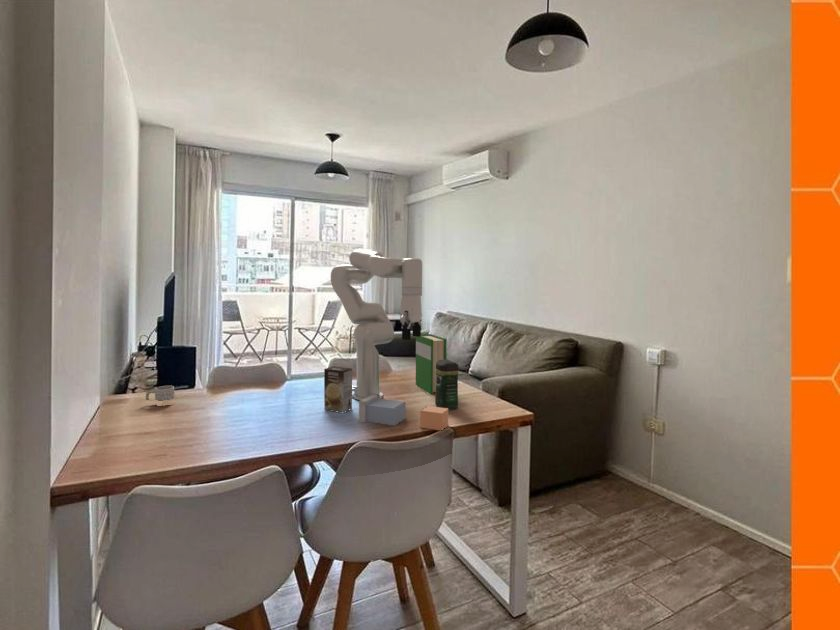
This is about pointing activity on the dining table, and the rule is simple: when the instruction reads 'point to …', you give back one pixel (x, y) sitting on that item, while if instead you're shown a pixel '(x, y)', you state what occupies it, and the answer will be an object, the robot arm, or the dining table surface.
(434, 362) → the hardback book
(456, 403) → the coffee jar
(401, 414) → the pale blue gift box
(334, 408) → the coffee box
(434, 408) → the peach rectangular block
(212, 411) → the dining table surface
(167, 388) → the mug
